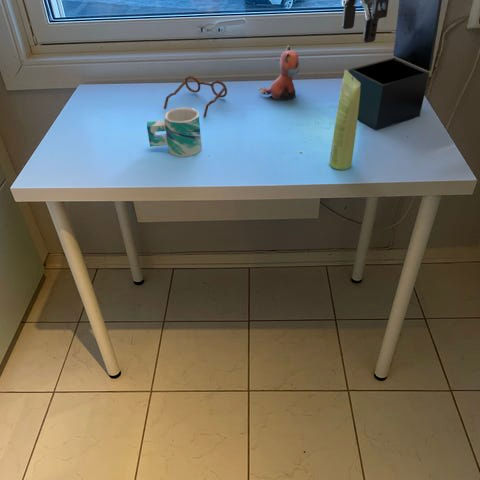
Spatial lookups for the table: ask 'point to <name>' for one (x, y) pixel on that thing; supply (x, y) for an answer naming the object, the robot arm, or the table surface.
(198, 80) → the glasses
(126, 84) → the table surface
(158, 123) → the mug
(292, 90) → the stuffed fox
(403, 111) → the bin
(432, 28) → the bin lid
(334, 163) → the tube
